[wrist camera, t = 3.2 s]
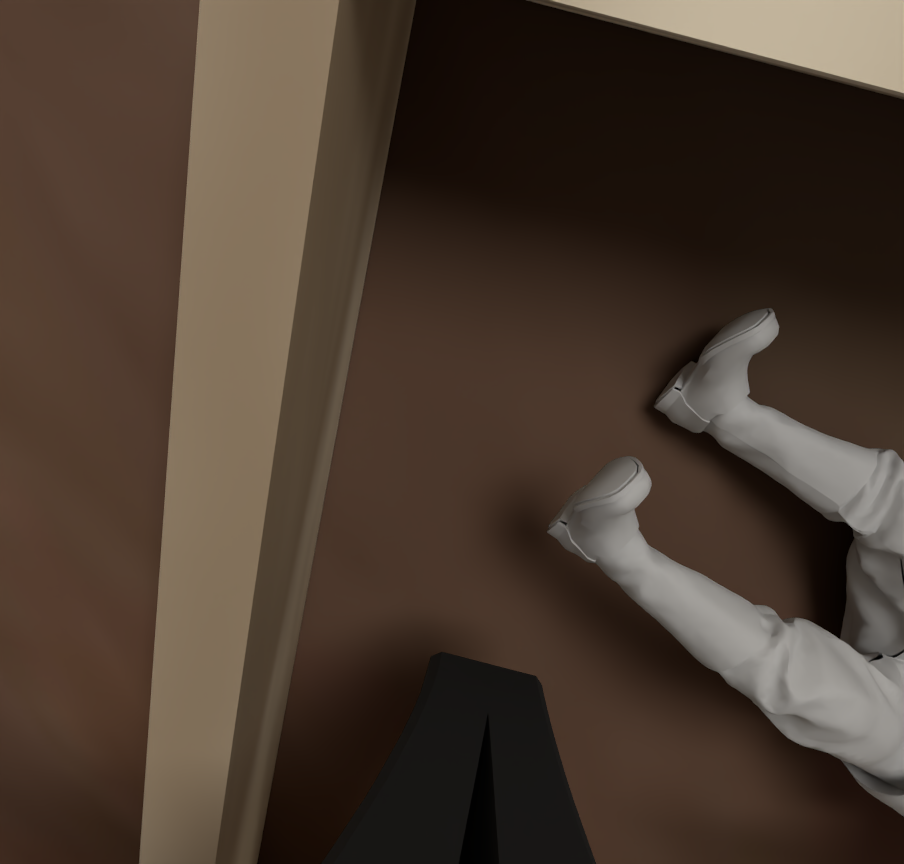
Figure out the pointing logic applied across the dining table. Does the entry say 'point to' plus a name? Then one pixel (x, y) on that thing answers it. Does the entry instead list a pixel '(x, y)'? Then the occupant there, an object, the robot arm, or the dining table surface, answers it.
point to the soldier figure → (758, 626)
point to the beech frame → (318, 348)
